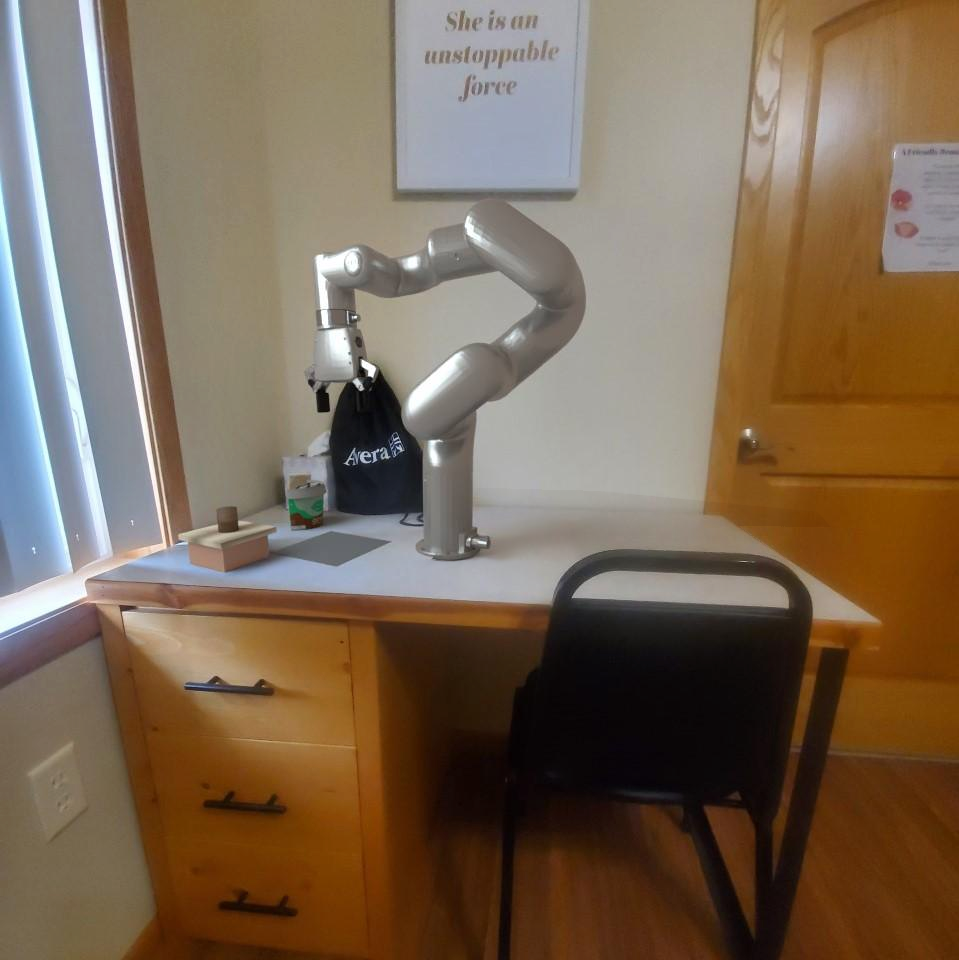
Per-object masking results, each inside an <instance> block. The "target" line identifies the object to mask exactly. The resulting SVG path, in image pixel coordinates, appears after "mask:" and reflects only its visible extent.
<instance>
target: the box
mask: <svg viewBox="0 0 959 960" xmlns="http://www.w3.org/2000/svg"><path fill="white" fill-rule="evenodd" d="M286 478H287V479H286V480H287V481H286V482H287V483H286V484H287V489H296V488H297V487H298V486H303V485H305V484H307V480H312V475H311V473H310V472H309V471H296V472H295V471H294V472H286ZM287 509H288V510H287V512H288V513H287V514H288V518H289V519H290V513H289V504H288V503H287Z"/></svg>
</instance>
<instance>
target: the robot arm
mask: <svg viewBox="0 0 959 960" xmlns="http://www.w3.org/2000/svg"><path fill="white" fill-rule="evenodd" d="M464 216H465V217H464V220H463V222H462V223H456V224H454V225H453V224H452V225H447V226H443V227H438V228H434V229H432V230H431V231H430V232H429V233H428V234H427V237H426V242H425V243H426V244H425V246H424V247H423V248H422V249H420V250H419V251H416V252H414V253H410V254H407V255H401V256H397V257H395V256H394V257H389V256H387V255H385V254H384V253H381V252H380V251H378V250H376V249H375V248H374V249H373V248H372V247H370V246H369V245H365V244H361V243H359V244H358V243H357V244H353V245H349V246H347V247H344V248H342V249H339V250H337V251H324V252H323V251H322V252H318V253H316V254H315V255H313V257H312V259H311V269H312V270H311V271H312V272H311V273H312V283H313V296H314V307H315V308H314V309H315V321H316V330H315V331H314V338H313V364H311V365H310V366H309V367H307V368H306V369H305V370H304V371H303V375H304V376H305V379H306V382H307V384H308V386H309V387H310V388H311V390H312V392H313V393H315V400H316V412H317V413H318V414H319V413H320V414H322V413H323V414H324V413H330V412H331V405H330V404H331V403H330V402H331V401H330V393H329V392H327V391H328V389H329V387H330V385H331V383H334V384H339V383H340V384H341V383H344V384H345V383H353V384H354V385H355V387H356V388H357V389H358V390H356V391H355V394H356V396H355V398H356V410H357V412H358V413H365V412H370V408H371V407H370V405H371V404H370V400H371V399H370V391H372V388H373V386H374V385H375V383H376V382H377V379H376V378H377V377H378V374H379V371H380V368H379V366H377V365H375V364H374V363H372V362H370V361H369V360H368V355H367V350H366V343H365V340H364V336H363V333H362V330H361V329H360V328H358V322H359V323H360V322H361V320H362V318H361V315H360V314H358V313H357V308H356V306H357V305H356V291H355V290H358V291H362V292H366V293H368V294H369V295H370V294H371V295H373V296H376V297H378V298H382V299H394V298H400V297H406V296H411V295H416V294H417V295H418V294H421V293H423V292H426V291H429V290H430V289H431V290H432V289H433V288H436V287H438V286H439V285H441V284H442V283H444V282H449V281H454V280H459V279H464V278H469V277H474V276H479V275H485V274H491V273H495V272H500V273H501V274H502V275H503V276H505V277H507V278H508V279H509V280H510V281H512V282H513V283H514V284H516V285H517V286H518V287H520V288H521V289H522V290H524V291H525V292H526V293H527V294H528V295H529V296H531V297H532V298H533V300H535V301H536V305H535V306H534V308H533V310H531V311H530V312H529V313H528V314H527V315H525V316H523V317H522V318H520V319H519V320H518V321H516V322H514V324H513V325H512V326H510V328H508V329H507V330H506V331H504V333H502V334H501V335H500V336H499V337H497V338H496V339H495V340H493V341H491V342H490V343H486V342H474V343H473V342H472V343H468V344H466V345H464V346H462V347H460V348H459V349H457V350H456V351H454V352H453V353H451V355H449V356H448V357H447V358H446V359H444V360H443V361H442V362H441V363H440V364H439V365H438V366H436V367H435V368H434V370H432V371H431V372H429V374H427V375H426V376H425V377H424V378H423V379H421V381H419V382H418V383H417V384H416V385H415V386H414V387H413V388H412V389H411V390H410V391H409V392H408V393H407V395H406V397H404V400H403V403H402V405H401V413H400V416H401V420H402V424H403V427H404V429H405V430H406V431H407V432H408V433H409V434H410V435H411V436H413V437H414V438H416V439H419V440H421V441H424V445H423V452H422V506H423V508H422V509H423V510H422V511H423V513H422V516H423V517H422V519H423V522H422V523H423V527H422V528H423V538H422V539H420V540H418V541H417V542H416V543H415V552H417V553H418V554H420V555H422V556H425V557H430V558H431V559H432V560H440V561H451V560H452V561H455V560H462V559H467V558H471V557H473V556H475V555H477V554H479V552H480V551H481V549H482V550H489V549H490V548H491V539H490V536H488V535H480V534H479V533H478V527H477V526H473V523H474V522H473V517H474V515H473V511H474V510H473V509H474V508H473V500H474V498H473V497H474V496H473V492H474V490H473V488H474V484H473V483H474V480H473V479H474V448H475V447H474V446H475V445H474V444H475V437H476V430H477V419H478V418H477V416H478V415H477V410H479V409H480V408H481V407H482V406H483V405H485V404H486V403H490V402H496V401H500V400H502V399H504V398H505V397H507V396H508V395H509V394H511V392H513V391H514V390H515V389H516V388H517V387H518V386H519V385H520V384H521V383H523V382H524V381H526V380H527V379H528V378H529V377H530V376H531V375H533V374H534V373H535V372H536V371H538V370H539V369H540V368H541V367H542V366H543V365H545V364H546V363H547V362H548V361H549V360H550V359H552V358H553V357H554V356H555V355H556V354H558V353H559V352H560V351H562V350H563V348H564V347H566V345H568V344H569V343H570V342H571V340H572V339H573V338H574V336H575V335H576V333H578V330H579V329H580V327H581V326H582V323H583V320H584V317H585V314H586V307H587V293H586V285H585V281H584V277H583V274H582V273H583V272H582V271H581V269H580V266H579V264H578V262H577V260H576V258H575V256H574V254H573V252H572V251H571V250H570V248H569V246H567V244H565V243H564V242H563V241H562V240H560V239H559V238H558V237H556V236H555V235H553V234H552V233H551V232H549V231H548V230H546V229H545V228H543V227H542V226H540V224H537V223H536V222H535V221H533V220H532V219H531V218H529V217H528V216H526V215H525V214H523V213H522V212H521V211H520V210H518V209H516V207H514V206H512V205H511V204H510V203H508V202H507V201H505V200H502V199H500V198H496V197H495V198H494V197H493V198H492V197H491V198H485V199H481V200H480V201H477V202H476V203H474V204H473V205H472V206H471V207H470V208H469V209H468V211H467V213H466V214H465V215H464Z"/></svg>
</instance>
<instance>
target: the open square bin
mask: <svg viewBox="0 0 959 960" xmlns="http://www.w3.org/2000/svg"><path fill="white" fill-rule="evenodd" d="M187 547H188V557H189V564H190V565H194V566H196V567H197V566H198V567H202V568H205V569H210V570H215V571H217V572H222V573H227V572H230V571H232V570H235V569H238V568H240V567H243V566H247V565H249V564H252V563H255V562H257V561H260V560H263V559H266V558H269V557H270V549H269V548H270V546H269V535H266V536H263V537H260V538H256V539H253V540H250V541H247V542H243V543H240V544H237V545H234V546H231V547H227V548H224V549H218V548H213V547H209V546H204V545H200V544H195V543H191V542H187Z"/></svg>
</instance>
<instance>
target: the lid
mask: <svg viewBox="0 0 959 960" xmlns="http://www.w3.org/2000/svg"><path fill="white" fill-rule="evenodd" d="M216 520H217V522H216V524H212V525H208V526H205V527H201V528H197V529H194V530H189V531H186V532H182V533H181V532H180V533H178V535H177V537H178V541H182V542H187V543H188V542H191V543H195V544H200V545H204V546H209V547H213V548H218V549H224V548H227V547H231V546H234V545H237V544H240V543H243V542H247V541H250V540H253V539H256V538H260V537H263V536H266V535H268V536H269V535H271V534H274V533H277V526H274V525H273V526H272V525H268V524H262V523H256V522H251V521H246V520H239V518H238V507H237V506H234V505H233V506H230V505H229V506H228V505H227V506H221V507H217V508H216Z"/></svg>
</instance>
